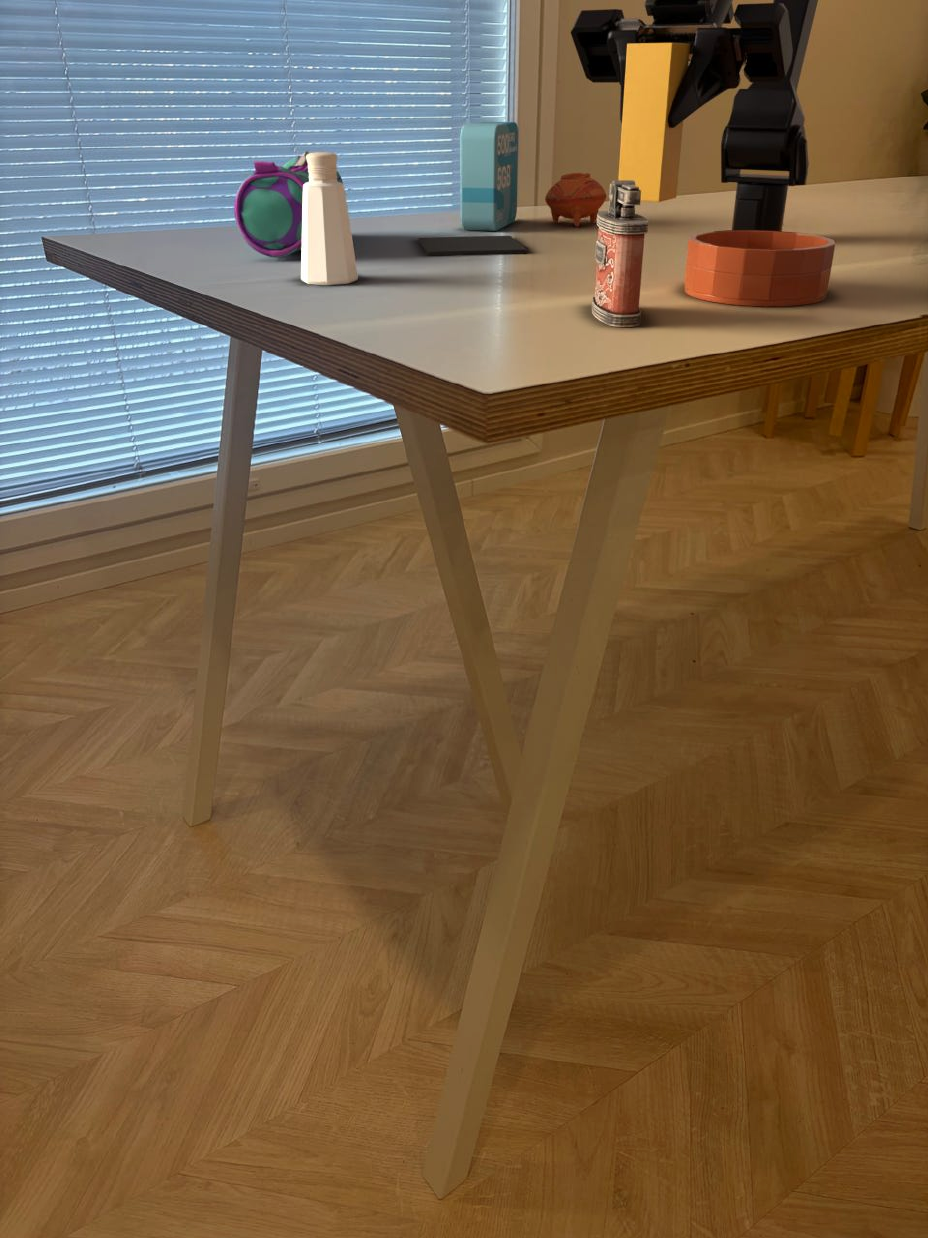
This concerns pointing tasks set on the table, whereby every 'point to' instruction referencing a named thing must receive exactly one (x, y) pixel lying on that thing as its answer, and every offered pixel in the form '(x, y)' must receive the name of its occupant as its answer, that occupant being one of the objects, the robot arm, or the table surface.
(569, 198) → the pot
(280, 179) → the pencil case
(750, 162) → the robot arm
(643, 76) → the block
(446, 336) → the table surface
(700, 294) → the bowl
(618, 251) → the lighter
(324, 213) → the pepper shaker
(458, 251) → the mat
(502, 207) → the data package
